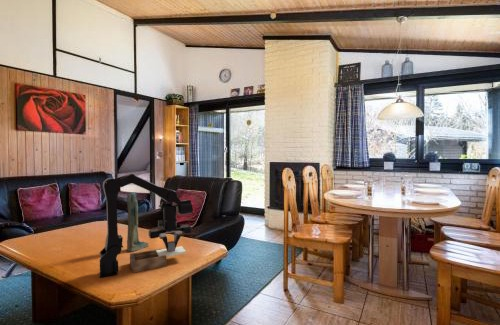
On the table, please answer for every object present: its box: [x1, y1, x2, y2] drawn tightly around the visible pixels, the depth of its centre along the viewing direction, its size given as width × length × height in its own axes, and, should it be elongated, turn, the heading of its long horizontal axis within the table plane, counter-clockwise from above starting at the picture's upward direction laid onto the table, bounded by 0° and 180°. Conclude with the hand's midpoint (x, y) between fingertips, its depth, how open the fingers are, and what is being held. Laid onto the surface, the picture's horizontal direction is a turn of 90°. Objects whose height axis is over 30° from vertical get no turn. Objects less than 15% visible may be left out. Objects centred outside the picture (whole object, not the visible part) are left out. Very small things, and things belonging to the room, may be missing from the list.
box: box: [129, 248, 167, 273], centre depth 129 cm, size 14×12×4 cm
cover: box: [155, 240, 187, 258], centre depth 133 cm, size 12×9×5 cm
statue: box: [125, 192, 149, 253], centre depth 152 cm, size 7×11×30 cm, turn 149°
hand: (171, 249), depth 133 cm, fingers closed on cover, 3 cm apart
